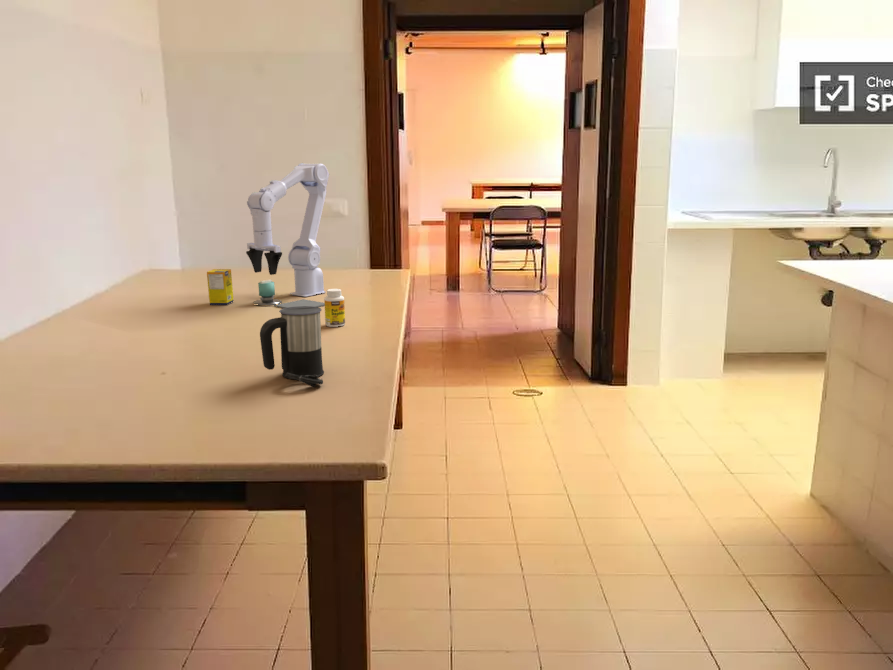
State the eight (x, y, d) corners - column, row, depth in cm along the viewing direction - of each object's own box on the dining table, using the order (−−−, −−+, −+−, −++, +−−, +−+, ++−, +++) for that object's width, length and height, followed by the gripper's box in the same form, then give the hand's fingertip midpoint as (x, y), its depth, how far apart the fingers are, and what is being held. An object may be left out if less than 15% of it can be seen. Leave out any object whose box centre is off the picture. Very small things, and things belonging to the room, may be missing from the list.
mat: (303, 300, 261) (303, 299, 261) (328, 305, 254) (328, 303, 253) (274, 306, 252) (274, 305, 252) (299, 311, 245) (299, 309, 244)
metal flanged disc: (269, 299, 263) (269, 291, 263) (287, 302, 258) (287, 294, 257) (247, 304, 257) (246, 295, 256) (265, 307, 251) (264, 298, 250)
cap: (268, 292, 260) (267, 278, 259) (278, 294, 257) (277, 280, 256) (255, 295, 256) (254, 280, 255) (265, 297, 253) (264, 282, 252)
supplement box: (234, 301, 261) (231, 268, 258) (227, 305, 255) (224, 271, 252) (216, 301, 261) (213, 268, 259) (209, 305, 255) (206, 271, 253)
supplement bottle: (330, 328, 221) (329, 292, 219) (322, 325, 226) (320, 289, 224) (348, 325, 224) (347, 290, 222) (340, 322, 229) (338, 287, 227)
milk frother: (306, 366, 184) (302, 303, 181) (353, 378, 175) (351, 312, 171) (256, 380, 174) (251, 314, 170) (303, 394, 164) (300, 324, 160)
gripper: (238, 230, 253) (241, 272, 256) (266, 233, 244) (269, 277, 247) (256, 228, 258) (259, 269, 262) (285, 231, 249) (287, 274, 253)
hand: (265, 273), depth 255 cm, fingers open, 7 cm apart
